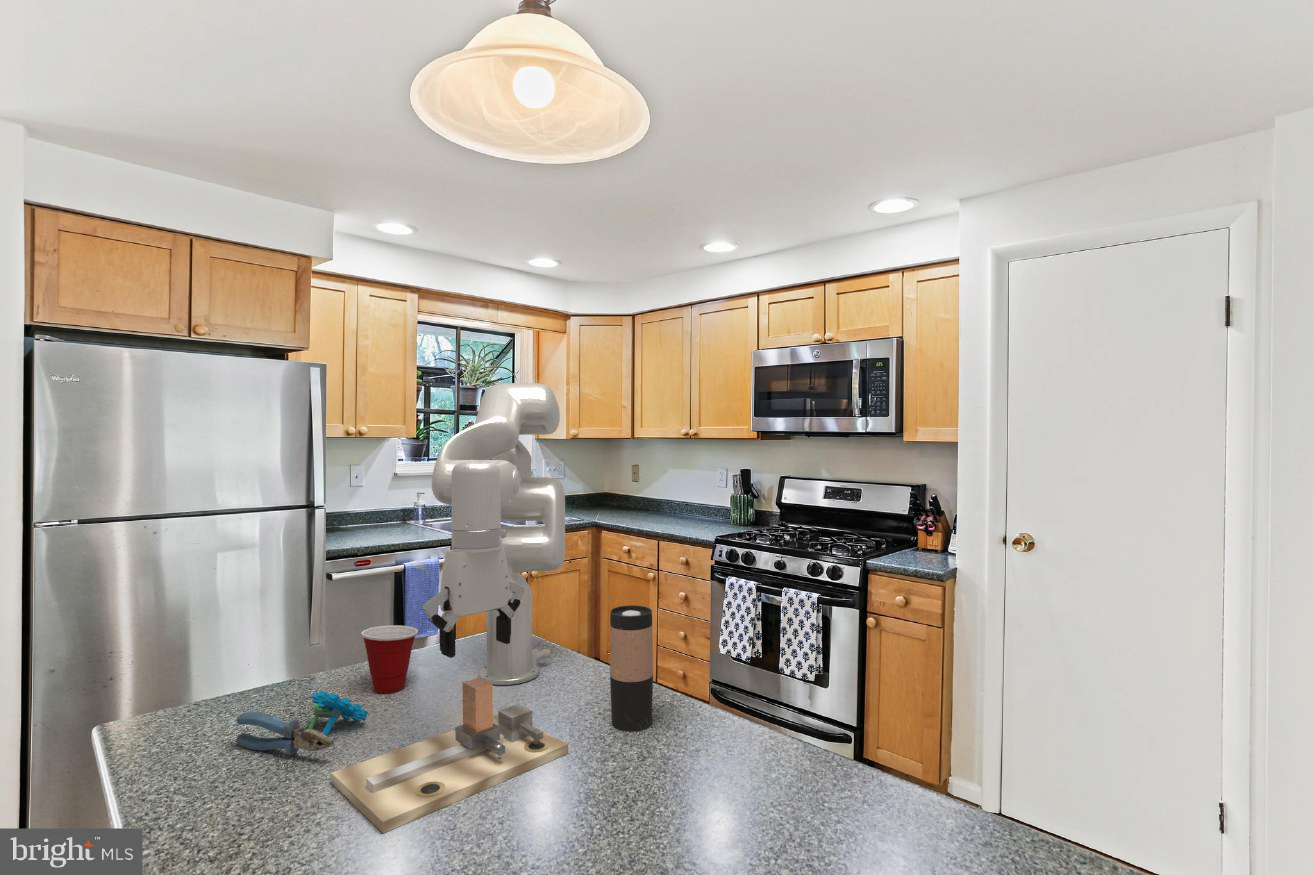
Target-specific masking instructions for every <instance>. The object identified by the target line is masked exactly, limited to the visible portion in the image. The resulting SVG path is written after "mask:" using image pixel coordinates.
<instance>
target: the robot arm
mask: <svg viewBox="0 0 1313 875" xmlns="http://www.w3.org/2000/svg"><path fill="white" fill-rule="evenodd" d="M560 416H561V413H560V406H559V403H558V400H557V398H556V395H555V393H554V391H553V390H552V389H551V387H549V386H548V385H546V384H543V383H536V382H529V383H528V382H523V383H522V382H521V383H520V382H519V383H518V382H517V383H516V382H514V383H513V382H505V383H504V382H503V383H496V384H493V385H491V386H489V387H488V388H487V389H486V390H485V391H484V393H483V395H482V398H481V401H480V404H479V407H478V412H477V416H476V419H475V422H474V423H473V424H471V425H469V426H467V427H466V428H464V429H462V430H461V431H459V432H458V433H456V434H455V435H453V436H451V437H450V438H448V440H447V441H446V442H445V443H444V444H442V447H441V448H440V451H439V453H438V456H437V458H436V461H435V464H434V467H433V471H432V475H431V491H432V494H433V497H435V499H436V500H437V501H438V502H440V503H441V504H444V505H451V549H447V550H446V552H445V555H444V561H443V564H442V570H441V581H440V591H439V592H438V593H436V594H435V595H433V596H432V597H431V598H429V599H428V600H427V601H425V602H424V603H423V604H422V609H423V610H424V613H425V614H426V617H427V618H428V621H429V622H431V624H433V625H434V627H436V628H437V629H438V630H439V650H440V652H441V654H442V655H443V656H445V657H447V658H450V659H452V658H454V657H455V656H456V631H455V630H453V628H454V626H455V624H456V623H457V622H458V620H459V619H460V617H467V616H472V615H473V616H474V615H477V614H484V613H486V614H485V615H486V620H485V621H486V622H485V623H486V665H485V666H483V667H482V668H481V669H480V670H479V672H478V673H479V674H478V678H482V679H484V680H486V681H488V682H490V683H492V684H493V686H495V685H498V686H511V685H518V684H522V683H526V682H529V681H532V680H533V679H535V678H537V677H538V675H539V674H540V666H539V664H537V663H538V662H539V661H540V660H541V659H543V660H544V659H547V658H550V657H551V655H552V653H551V652H552V651H551V650H550V648H544V649H540V650H539V648H533V615H532V614H533V604H532V603H533V599H532V598H533V597H532V596H533V594H532V593H533V592H532V590H531V587H530V585H529V583H528V582H527V581H526V579H525V578H524V577H523V576H522V574H521V573H525V572H528V573H529V572H552V571H553V572H554V571H557V570H559V569H560V568H562V566H563V565H564V562H565V558H566V556H565V555H566V496H565V489H564V487H563V484H562V482H561V481H560V480H559V479H558V478H554V477H550V476H549V477H548V476H547V477H546V476H545V477H543V476H542V477H541V476H540V477H538V476H537V477H535V476H534V477H533V476H532V456H531V453H530V452H529V450H528V449H527V447H526V446H525V445H524V444H523V443H522V441H520V440H519V439H520V436H521V435H527V436H528V435H532V436H533V435H535V436H537V435H539V436H540V435H543V436H544V435H545V436H546V435H552V434H554V433H556V431H557V429H558V427H559V424H560ZM502 521H503V522H504V521H505V522H541V523H542V524H544V526H543V525H542V526H525V525H524V526H523V525H522V526H501V525H502V524H501V522H502ZM438 607H440V610H441V612H443V613H442V614H441V616H440V614H439V612H438Z"/></svg>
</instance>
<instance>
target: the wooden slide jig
mask: <svg viewBox="0 0 1313 875" xmlns="http://www.w3.org/2000/svg"><path fill="white" fill-rule="evenodd" d="M497 712H498V713H497V714H496V715H493V723H494V724H496V725H497V726H499V727H500V740H497V742H499V743H500V744H502V745H504V746H505V753H504V754H502V758H501V759H499V760H496V759H495V753H493V752H492V751H490V750H488V749H487V748H485V747H483V746H482V747H479V748H476V749H474V750H471V749H469V748H468V747H466V746H464V745H463V744H461V743H460V742H458V741H457V740H455V729H453V730H451V731H448V732H447V731H446V732H444V733H442V734H439V735H436V736H433V737H430V738H427V739H424V740H422V741H418V742H415V743H413V744H410V745H407V746H405V747H402V748H399V749H396V750H394V751H389V752H387V753H385V754H382V755H378V756H375V757H373V758H369V759H368V760H364V761H360V762H358V763H355V764H352V765H350V766H346V767H344V768H341V769H338V770H335V771H332V772H331V776H330V777H331V779H330V780H331V781H330V782H331V784H332V785H333V786H334V787H335V788H336V789H337V790H338V791H339V792H340V793H341V794H342V795H343V796H344V795H345V796H344V797H345V798H346V797H347V798H346V799H347V800H348V799H349V802H350V803H351V804H352V805H353V806H354V807H355V808H356V809H357V810H358V811H359V812H360V813H362V814H363V816H364V817H366V819H367V820H369V821H370V822H371V823H372V825H374V827H376V829H378V831H380V832H381V833H382V834H385V833H388V832H389V831H392V830H394V829H397V828H399V827H401V826H404V825H405V824H409V823H411V822H414V821H415V820H417V819H419V818H421V817H424V816H426V815H429V814H432V813H433V812H436V811H438V810H441V809H444V808H445V807H447V806H450V805H452V804H454V803H457V802H459V801H461V800H464V799H466V798H469V797H471V796H473V795H475V794H477V793H480V792H482V791H486V790H487V789H489V788H491V787H494V786H496V785H499V784H501V783H503V782H505V781H508V780H510V779H512V778H515V777H517V776H519V775H521V774H524V773H527V772H529V771H531V770H533V769H536V768H538V767H540V766H542V765H545V764H547V763H550V762H552V761H553V760H557V759H559V758H561V757H564V756H566V755H568V754H569V743H567V742H565V741H563V740H561V739H559V738H557V737H555V736H553V735H551V734H549V733H547V732H546V731H544V730H542V729H539V728H538V727H536V726H535V725H533V710H532V709H530V708H528V707H526V706H524V705H522V704H521V703H518V704H517V703H516V704H515V705H512V706H508V707H506V708H502V709H499V710H497Z"/></svg>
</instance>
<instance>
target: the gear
mask: <svg viewBox="0 0 1313 875" xmlns="http://www.w3.org/2000/svg"><path fill="white" fill-rule="evenodd" d="M311 697H312V699H311V702H312V703H313V705H312V706H311V710H314V711H313V713H312V715H313V719H312V720H311V722H310V723H309V725H308V727H307V729H312V730H314V726H315V725H316V723H317V722H318V720H319V718H321V719H322V718H324V719H328V721H327V723H326V725H325V727H324V729H323V731H322V732H321V733H323V734H324V735H326V736H328V735H329V734H330V732H331V730H332V728H333V726H334V724H335V723H336V721H337V720H339V719H340V717H342V718H343V719H346V720H350V719H352V720H353V721H355V722H359V721H360V720H361V721H363V722H364V721H366V719H367V718H368V714H369V711H367V710H366V709H363V706H362V705H360V704H359V703H355V704H354V705H353V704H351V702H352V700H351V699H349V698H347V697H343V699H342V698H340V697H339V695H338V694H336V693H334V692H331V693H330V694H329V693H327V692H326V691H323V690H321V691H320V692H317V691H315V692H314V693H313V695H312V696H311ZM328 737H329V736H328Z"/></svg>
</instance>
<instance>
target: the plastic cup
mask: <svg viewBox="0 0 1313 875" xmlns="http://www.w3.org/2000/svg"><path fill="white" fill-rule="evenodd" d="M360 633H361V636H362V638H363V642H364V646H365V649H366V656H367V662H368V669H369V673H370V674H369V676H370V677H371V683H372V687H373V690H374V693H376V694H382V695H388V694H389V695H390V694H395V693H397V692H401V691H403V689H405V685H406V681H407V675H408V671H409V666H410V661H411V655H412V648H413V645H414V642H415V638H416V636H417V635H418V633H419V629H418V628H415V627H413V626H408V625H397V624H396V625H393V624H392V625H391V624H390V625H380V626H374V627H372V626H371V627H369V628H367V629H364V630H363V631H360Z"/></svg>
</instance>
